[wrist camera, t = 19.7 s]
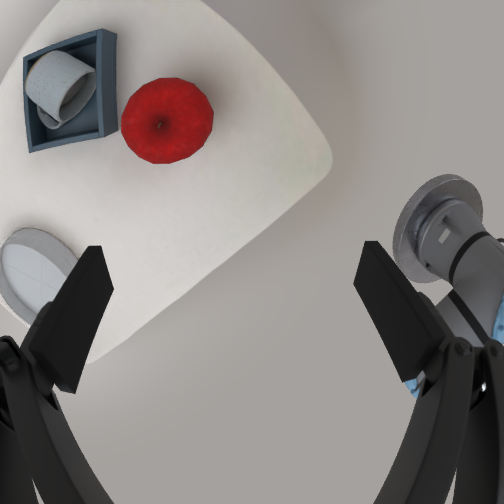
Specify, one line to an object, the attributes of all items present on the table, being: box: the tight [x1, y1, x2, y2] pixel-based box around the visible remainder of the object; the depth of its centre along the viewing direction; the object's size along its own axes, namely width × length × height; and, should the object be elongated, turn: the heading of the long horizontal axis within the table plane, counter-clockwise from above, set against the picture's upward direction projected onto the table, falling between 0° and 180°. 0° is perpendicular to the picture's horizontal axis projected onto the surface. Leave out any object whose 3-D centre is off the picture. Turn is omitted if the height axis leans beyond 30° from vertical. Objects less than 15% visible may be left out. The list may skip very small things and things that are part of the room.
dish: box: [0, 229, 78, 326], centre depth 41 cm, size 22×22×5 cm
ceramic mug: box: [25, 50, 96, 129], centre depth 23 cm, size 11×8×8 cm
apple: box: [121, 78, 214, 164], centre depth 27 cm, size 10×10×11 cm
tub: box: [23, 29, 118, 153], centre depth 25 cm, size 13×14×5 cm
